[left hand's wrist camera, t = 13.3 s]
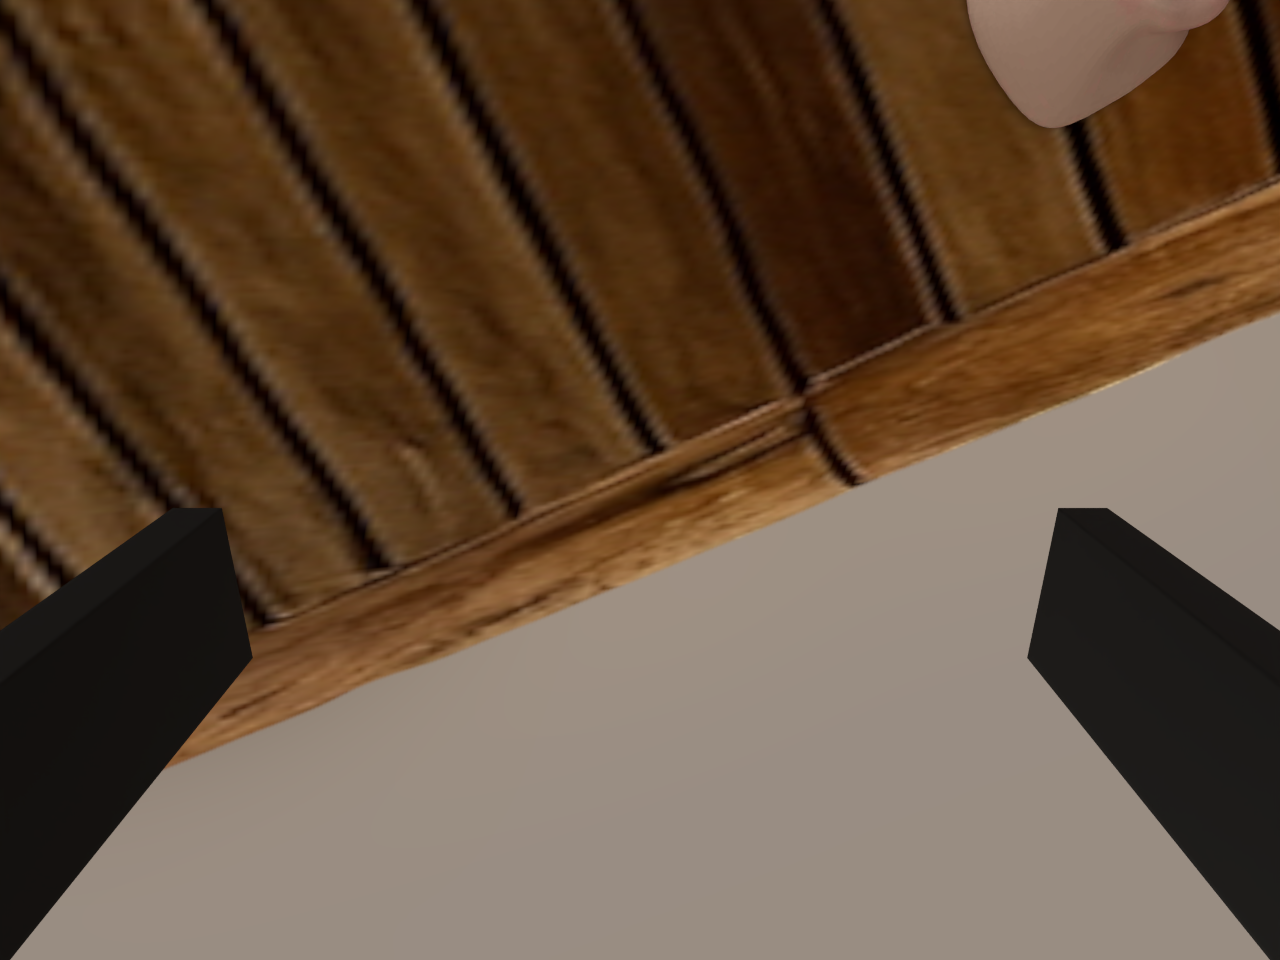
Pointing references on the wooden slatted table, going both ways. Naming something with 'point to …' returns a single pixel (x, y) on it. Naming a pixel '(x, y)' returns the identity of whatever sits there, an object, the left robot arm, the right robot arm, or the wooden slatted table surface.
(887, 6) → the wooden slatted table surface
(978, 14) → the anatomical model
